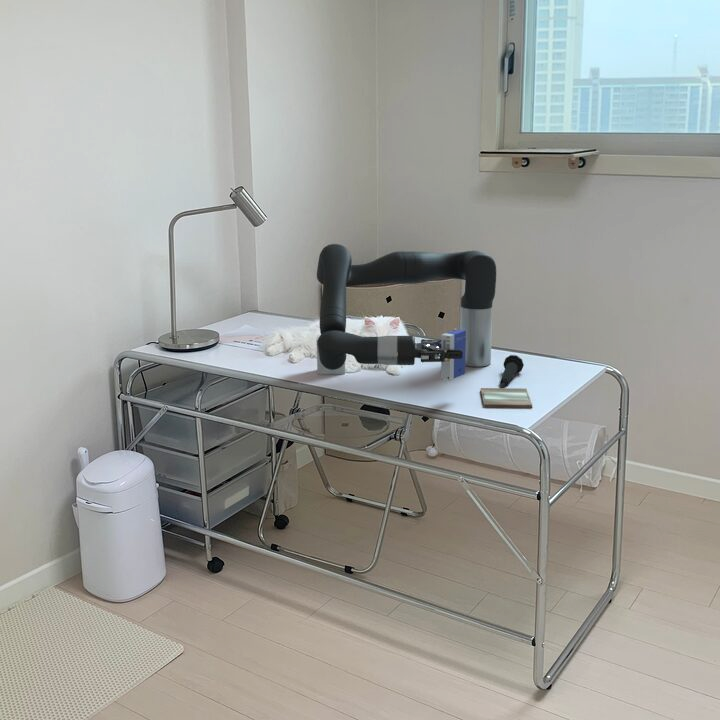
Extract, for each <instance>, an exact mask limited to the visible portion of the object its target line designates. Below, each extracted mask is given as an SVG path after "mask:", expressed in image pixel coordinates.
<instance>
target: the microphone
mask: <svg viewBox="0 0 720 720" xmlns="http://www.w3.org/2000/svg"><path fill="white" fill-rule="evenodd" d="M502 365H503V368H504V371H503V374H502V375H501V378H500V381H499V384H500V386H499V388H505V387H507V386H508V385H509V384H510V382H511V381H512V379H513V378H514V377H515V375H516V373H517V374H518V373H521V372H522V370H523V368H524V361H523V359H522V358H521V357H519V356H518V355H513V354H510V355H508V356H507V357H505V359H504V361H503V364H502Z"/></svg>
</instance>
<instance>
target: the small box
mask: <svg viewBox="0 0 720 720" xmlns="http://www.w3.org/2000/svg"><path fill="white" fill-rule="evenodd" d="M320 335H321V334H318V335H317V336H316V340H315V341H316V343H317V341H318V338H319V336H320ZM316 361H317V362H316V364H317V366H316V367H317V368H316V369H317V375H345V374H346V362H345V363H344V364H343V365H342V366H341V367H340V368H338V369H336V370H330V369H327V368H325V367H324V366H323V365H322V364H321V362H320V359H319V352H318V345H317V344H316Z"/></svg>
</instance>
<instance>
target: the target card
mask: <svg viewBox="0 0 720 720" xmlns="http://www.w3.org/2000/svg"><path fill="white" fill-rule="evenodd" d="M480 395H481V400H482V402H483V407H484V408H495V409H496V408H502V409H504V408H506V409H507V408H508V409H509V408H510V409H515V408H517V409H532V408H533V402H532V400H531V397H530V395H529V392H528V389H527V388H518V387H517V388H511V387H510V388H508V387H507V388H505V387H504V388H500V387H498V388H497V387H493V388H492V387H481V388H480Z"/></svg>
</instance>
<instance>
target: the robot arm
mask: <svg viewBox="0 0 720 720" xmlns="http://www.w3.org/2000/svg"><path fill="white" fill-rule="evenodd" d="M352 261H353V260H352V254H351V252H350V250H349V249H348V248H347V247H345V246H344V245H343V244H339V243H331V244H327V245H326V246H324V247H323V248H322V250H321V251H320V253H319V256H318V263H317V269H316V279H317V281H318V282H319V283H320V284H321V285H322V286H323V287H322V292H321V293H322V295H321V301H320V308H319V309H320V311H319V332H320V334H319V335H320V336H319V338H318V341H317V342H316V346H317V345H318V352H319V359H320V362H321V364H322V365H323V366H324V367H325V368H327V369H330V370H336V369H338V368H340V367H341V366H342V365H343V364H344V363H345V364H346V360H347V355H350V356H353V357H354V359H355V361H356V362H357V364H361V365H385V366H414V365H415V364H416V363H415V362H416V361H415V359H420V362H421V363H441V362H444V361H445V360H447V358H448V359H462V357H463V352H462V350H448V351H447V350H446V349H441V341H442V339H425V338H422V339H420V342H417V343H416V341H415V340H416V338H415V336H414V335H383V336H361V335H358V334H354V333H350V332H346V329H347V288H350V287H356V286H366V285H388V284H393V285H394V284H397V285H398V284H399V285H404V284H405V285H406V284H407V285H413V284H423V283H428V282H431V281H436V280H440V279H441V280H442V279H454V280H463V281H464V282H465V283H464V292H463V295H462V296H461V297H460V323H459V324H460V326H459V327H460V328H459V329H460V330H466V351H465V367H472V368H473V367H485V366H487V367H488V366H489V365H491V362H492V361H491V359H492V335H493V334H492V333H493V332H492V331H493V330H492V329H493V326H492V325H493V303H494V300H495V295H496V288H497V287H496V285H497V265H496V261H495V260H494V258H493V257H492V256H490V255H489V254H488V253H484V252H483V251H479V250H467V251H459V252H448V253H441V252H440V253H437V252H429V251H406V250H405V251H403V250H402V251H393V252H389V253H388V254H385V255H383V256H381V257H379V258H377V259H375V260H372V261H369V262H367V263H362V264H352Z"/></svg>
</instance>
